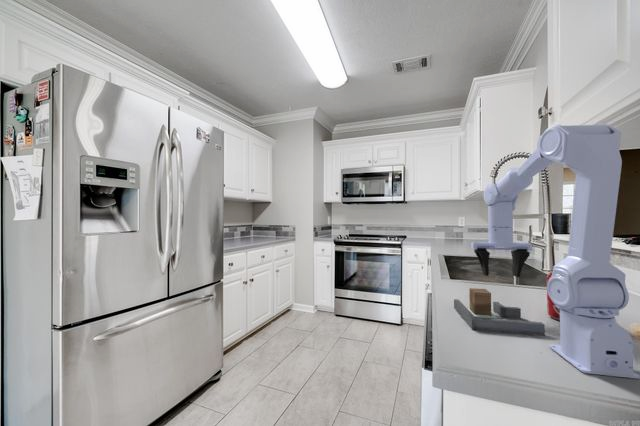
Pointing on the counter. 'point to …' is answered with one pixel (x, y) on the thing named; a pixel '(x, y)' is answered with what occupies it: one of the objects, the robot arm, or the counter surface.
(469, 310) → the pad
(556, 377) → the counter surface
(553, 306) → the beverage can
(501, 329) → the grey flat frame
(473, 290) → the walnut block
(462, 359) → the counter surface
